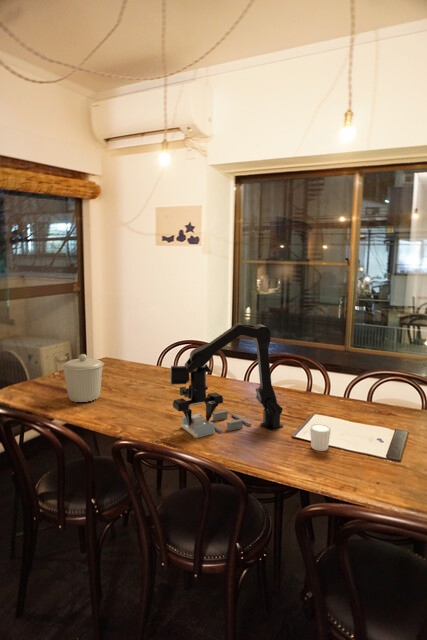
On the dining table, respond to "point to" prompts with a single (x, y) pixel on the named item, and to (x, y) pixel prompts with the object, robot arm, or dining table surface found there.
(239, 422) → the blocks
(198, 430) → the drawer
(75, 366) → the canister
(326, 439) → the shot glass
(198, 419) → the usb wall charger
